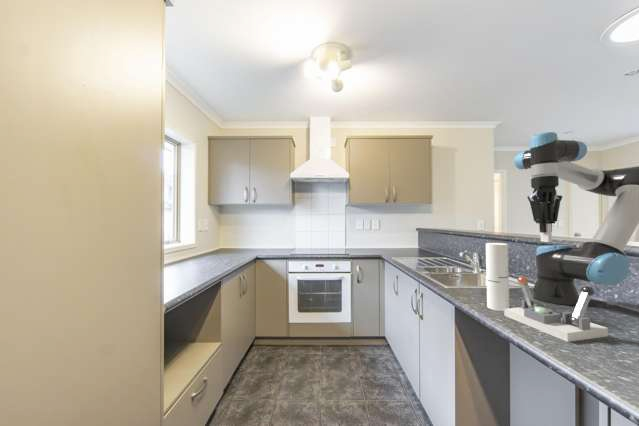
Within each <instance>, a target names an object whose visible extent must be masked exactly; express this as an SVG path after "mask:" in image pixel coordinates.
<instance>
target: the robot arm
mask: <svg viewBox="0 0 639 426" xmlns="http://www.w3.org/2000/svg"><path fill="white" fill-rule="evenodd" d="M558 138H559V137H558V134H557V133H556V132H555V131H546V132H540V133H536V134H534V135H533V136H531V138H530V143H529V149H527V150H524V151H522V152H519V153H518V154H516V155H515V157H514V162H513V163H514V165H515V167H516V168H517V169H519V170H528V169H530V176H531V177H532V178H531V179H530V187H531V189H533V191H532V194H531V195H528V196H527V199H528V201H529V203H530V204H529V205H530V210H531V212H532V213H531V214H532V218H533V221H534V222H535V223H536V224H539V234H540V242H544V243H552V241H553V240H552V239H553V238H552V237H553V236H552V235H553V234H552V233H553V224H556V222H558V218H559V211H560V204H561V201H562V199H563V195H559V194H557V189H556V188H557V187H559V180H563V181H566V182H568V183H570V184H571V183H572V184H574V185H577V187H578V188H579V189H581V190H584V191H587V192H590V193H593V194H597V195H600V196H601V195H602V196H607V197H617V198H616V199H615V201H614V202H613V204H612V206H611V208H610V209H609V210H608V212H607V213H606V215H605V217H604V219H603V220H602V222H601V223H600V226H599V227H598V229H597V230H596V232H595V233H594V235H593V237H592V238H591V240H588V241H584V242H583V244H581V247H579V249H575V248H574V246H573V244H562V245H561V244H557V245H555V244H553V245H552V244H551V245H539V246H538V247H537V248H536V254H535V257H536V259H535V260H536V281H535V284H534V286H533V289H532V290H531V293H532V296H533V298H534V299H535V300H539V301H543V302H546V303H551V304H556V305H565V306H566V305H567V306H576V305H577V303H578V300H579V298H580V294H579V291H578V288H577V287H576V285H575V280H579V281H585V282H589V283H593V284H596V285H604V286H605V285H606V286H614V285H615V286H616V285H618V284H620V283H622V282H623V281H624V280H625V279H626V278H627V277H628V276H629V273H630V267H631V264H630V262H629V258H627V254H626V253H625V252H624V249H625V248H626V246H627V244H628V243H629V241H630V239H631V237H632V236H633V234H634V232H635V231H636V229H637V227H638V225H639V166H638V165H637V166H630V167H625V168H624V167H623V168H616V169H607V170H601V169H598V168H588V167H586V166H582V165H580V164H577V163H576V162H578V161H580V160H582V159H583V158H584V157H585V156H586V155H587V154H588V153H587V152H588V146H587V144H586V143H584V142H583V141H581V140H574V139H571V140H565V139H564V140H563V139H558ZM574 162H575V163H574Z"/></svg>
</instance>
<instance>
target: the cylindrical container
mask: <svg viewBox="0 0 639 426" xmlns="http://www.w3.org/2000/svg"><path fill="white" fill-rule="evenodd" d="M485 265H486V266H485V267H486V268H485V269H486V270H485V271H486V278H485V279H486V307H487V308H488V309H490V310H493V311H496V312H504V309H507V308H510V283H509V281H510V277H509V246H508V243H503V242H501V243H500V242H486V243H485Z"/></svg>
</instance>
